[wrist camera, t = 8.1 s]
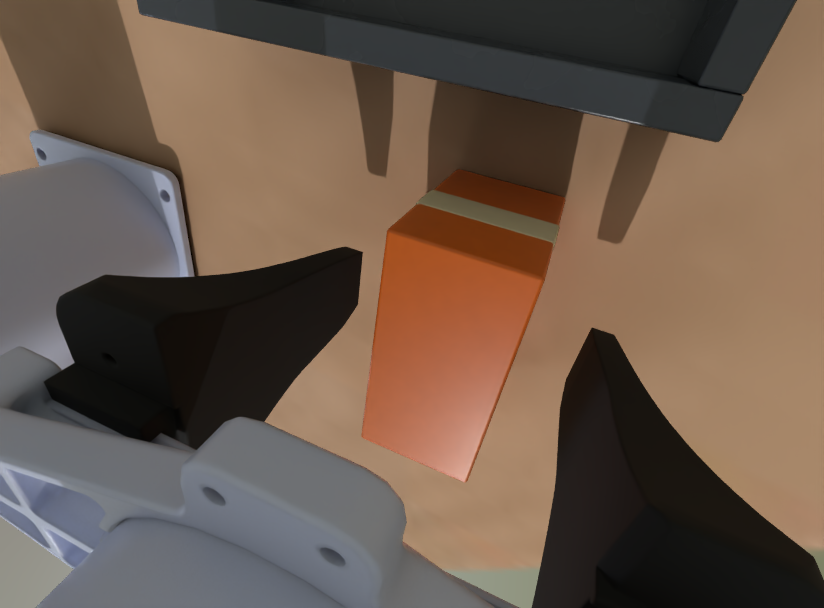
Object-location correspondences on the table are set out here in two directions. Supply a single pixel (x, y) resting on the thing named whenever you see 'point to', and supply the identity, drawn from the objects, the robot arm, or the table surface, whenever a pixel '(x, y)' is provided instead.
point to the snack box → (455, 315)
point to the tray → (533, 48)
